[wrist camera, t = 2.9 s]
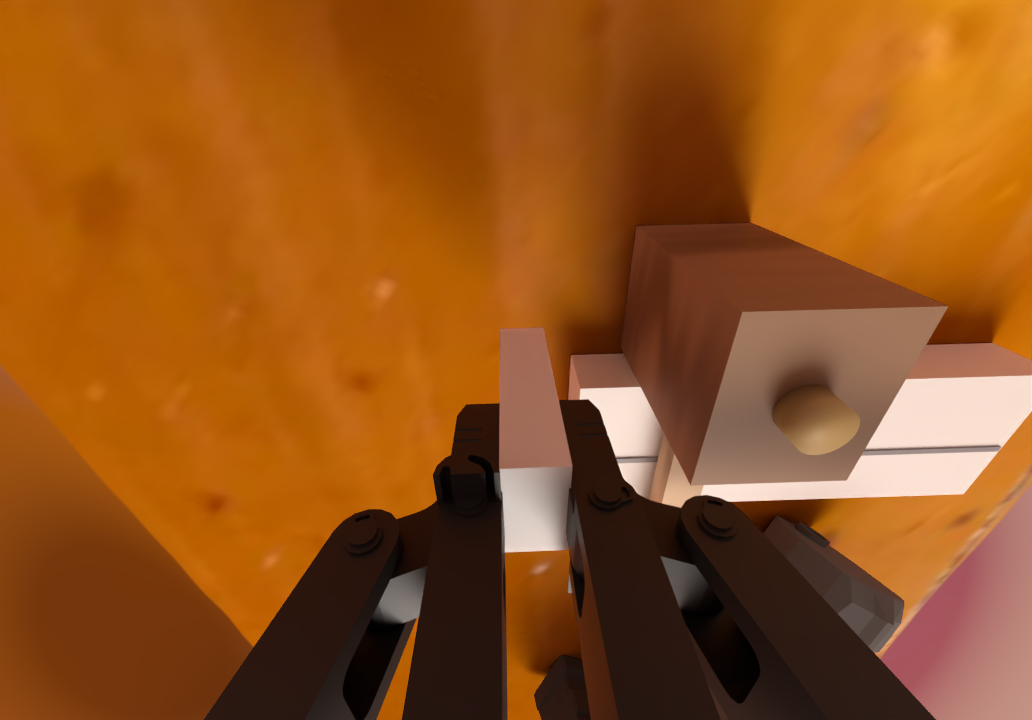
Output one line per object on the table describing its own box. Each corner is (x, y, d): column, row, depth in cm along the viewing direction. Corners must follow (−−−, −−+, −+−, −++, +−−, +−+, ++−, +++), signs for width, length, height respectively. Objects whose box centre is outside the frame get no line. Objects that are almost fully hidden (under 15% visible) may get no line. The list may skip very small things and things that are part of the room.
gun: (525, 699, 39) (577, 960, 25) (692, 447, 35) (872, 586, 20) (579, 711, 41) (657, 959, 26) (744, 473, 36) (941, 617, 22)
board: (571, 354, 21) (580, 390, 18) (992, 343, 21) (1064, 375, 18) (564, 466, 25) (571, 508, 22) (916, 455, 25) (965, 495, 22)
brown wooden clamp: (636, 225, 17) (765, 331, 9) (751, 222, 17) (992, 324, 9) (602, 476, 25) (653, 660, 17) (681, 474, 25) (772, 656, 17)
